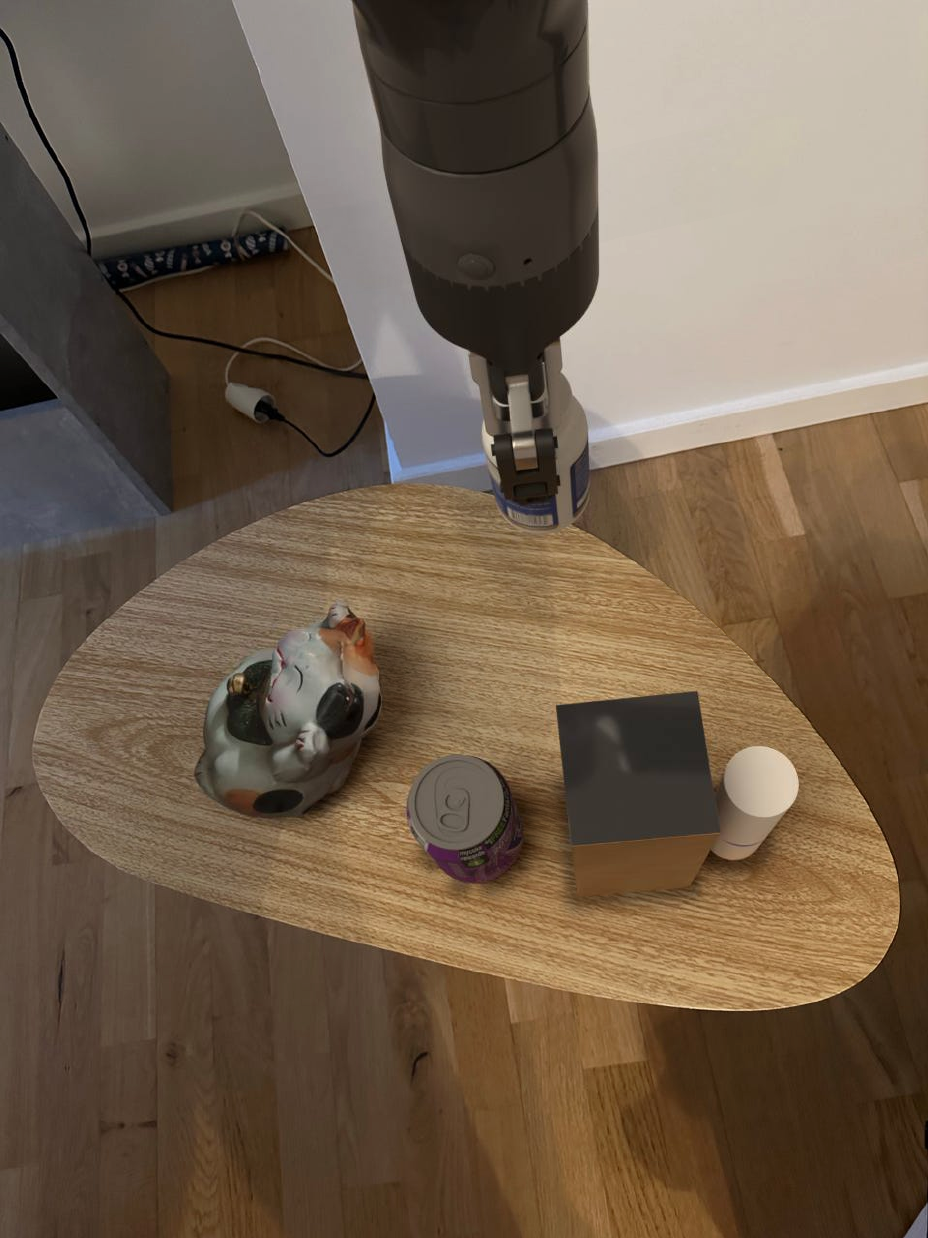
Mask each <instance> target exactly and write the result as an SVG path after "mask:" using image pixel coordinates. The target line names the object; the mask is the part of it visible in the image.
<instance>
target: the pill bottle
mask: <svg viewBox="0 0 928 1238" xmlns="http://www.w3.org/2000/svg"><path fill="white" fill-rule="evenodd" d="M543 371H544V381H545V390H544V393H543V395H542V396H541V397H540V398H539V399H538V400H536V401H534V402H531V403H537V402H540V401H542V400H544V399H545V397H546V395H547V386H546V376H545V366H544V363H543ZM558 386H559V397H560V408H561V419H562V422H561V425H560V426H559V427H558V428H557V429H555V430H554V431H553V437H554V436H557V441H558V448H557V449H556V448H555V449H556V451H557V460H556V471H557V475H560V484H561V486H558V494H555V496H554V497H553V498H551V499H549V500H548V503H543V504H534V505H526V506H520V505H519V503H515V502H513V501H512V500H505V497H504V493H501V489H500V482H501V480H500V476H499V472H498V467H497V463H496V457H495V456H492V452H491V444H494V439H493V437H492V436H490V435H488V434H487V432H486V429H485V422H484V419H482V420H483V421H482V426H481V440H482V445H483V450H484V456H485V460H486V464H487V469H488V473H489V479H490V482H491V487H492V494H493V498H494V500H495V504H496V507H497V509H498V511H499V514H500V515H501V516H502V517H503V519H504V520H505V521H506V522H507V524H509V525H511V526H512V527H514V528H515V529H517V530H519V531H521V532H524V533H528V534H533V535H534V534H535V535H548V534H555V533H557V532H560V531H562V530H564V529H566V528H567V527H568V528H569V526H571V525H573V524H574V523H575V522H576V521H577V520H578V519H579V518H580V517H581V516H582V514H583V513H584V512H585V509H586V508H587V505H588V503H589V499H590V494H591V476H590V474H591V473H590V471H591V470H590V447H589V446H590V445H589V426H588V418H587V415H586V412H585V410H584V408H583V406H582V404H581V402H580V401H579V400H578V399H577V398H576V396H575V395H574V394H573V391H572V390H573V389H572V387H571V383H570V382H569V379H568V378H567V377H566V375H564V373H563V372H562V371H560V373H559V374H558ZM494 401H495V402H496V404H498V405H500V406H504V407H505V406H509V405H503V404H501V403H499V402H498V401H496V399H495V398H494Z"/></svg>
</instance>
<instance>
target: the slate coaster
mask: <svg viewBox="0 0 928 1238" xmlns="http://www.w3.org/2000/svg"><path fill="white" fill-rule="evenodd" d="M555 713H556V721H557V733H558V740H559V749H560V760H561V768H562V769H561V770H562V778H563V787H564V788H563V789H564V796H565V797H564V798H565V805H566V814H567V815H566V816H567V825H568V834H569V835H568V836H569V843H570V848H571V847H578V846H589V845H600V844H611V843H623V842H634V841H645V840H656V839H667V838H678V837H689V836H701V835H712V834H720V826H719V819H718V813H717V807H716V801H715V795H714V793H715V790H714V784H713V778H712V771H711V765H710V760H709V753H708V747H707V741H706V735H705V728H704V722H703V716H702V710H701V704H700V699H699V691H698V690H693V691H681V692H672V693H671V692H670V693H663V694H653V695H652V694H651V695H642V696H634V697H633V696H631V697H622V698H612V699H602V700H592V701H583V702H575V703H574V702H573V703H564V704H555Z"/></svg>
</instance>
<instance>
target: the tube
mask: <svg viewBox="0 0 928 1238" xmlns="http://www.w3.org/2000/svg"><path fill="white" fill-rule="evenodd" d="M799 785H800V783H799V777H798V773H797V770H796V768H795V766H794V765H793V763H792V762H791V760H790V759H789V758H788V757H786V756H785V754H783V753H781V752H780V751H779V750H776V749H774V748H772V747H768V746H763V745H762V746H761V745H753V746H748V747H746V748H742V749H741V750H739V751H738V752H736V753H735V754H734V755H733V756H732V757H731V758H730V759H729V760H728V763H727V765H726V766H725V769H724V770H723V773H722V776H721V778H720V780H719V783H718V784H717V787H716V789H715V790H714V795H715V801H716V807H717V813H718V819H719V826H720V834H719V835H718V837H717V839H716V840H715V842H714V844H713V846H712V848H711V849H710V851H711V852H712V853H713V854H715V855H716V856H717V857H720V858H721V859H725V860H730V861H739V860H743V859H746V858H748V857H750V856H751V855H753V854H754V853H755V852H756V851H757V850H758V848H759V847H760V845H761V844H762V843H763V842H764V840H765V839H766V838H767V837H768V835H769V834H770V833H771V832H772V831H773V829H774V828H775V827H776V825H777V824H778V823H779V821H780V820H781V819H782V818H783V816H784V815H785V814H786V813H787V812H788V810H789V809H790V807H791V806H792V805H793V804H794V802H795V800H796V798H797V796H798V793H799V789H800V788H799Z"/></svg>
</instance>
